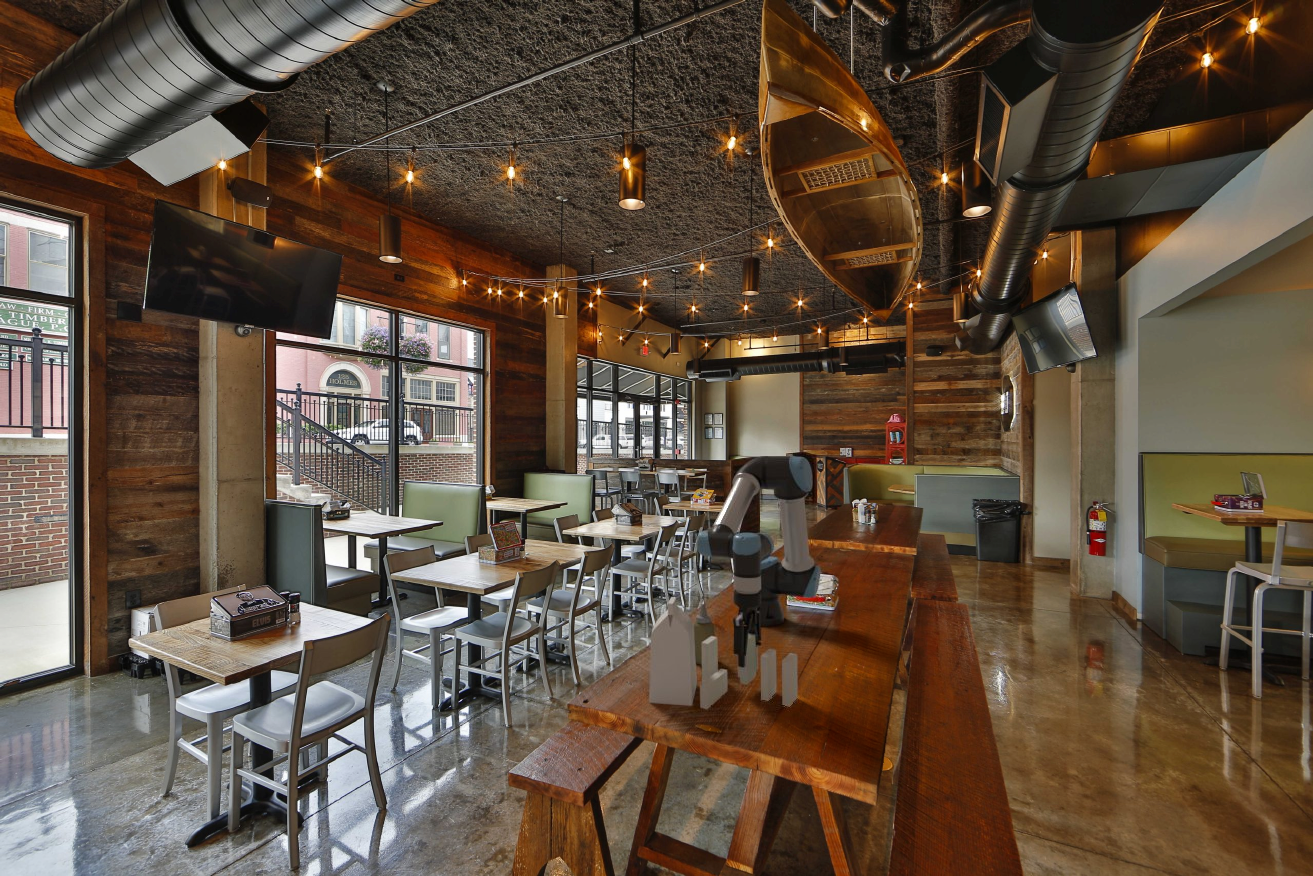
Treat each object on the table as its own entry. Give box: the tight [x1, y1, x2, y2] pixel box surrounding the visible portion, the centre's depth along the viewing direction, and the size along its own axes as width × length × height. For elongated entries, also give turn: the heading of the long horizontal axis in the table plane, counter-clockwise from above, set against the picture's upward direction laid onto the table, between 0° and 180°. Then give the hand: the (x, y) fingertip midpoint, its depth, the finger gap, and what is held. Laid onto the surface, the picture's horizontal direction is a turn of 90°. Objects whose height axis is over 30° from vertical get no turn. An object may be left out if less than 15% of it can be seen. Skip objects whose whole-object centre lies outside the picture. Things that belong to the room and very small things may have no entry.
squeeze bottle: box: [693, 603, 716, 666], centre depth 179 cm, size 8×8×18 cm
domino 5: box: [781, 652, 799, 708], centre depth 152 cm, size 2×6×12 cm, turn 147°
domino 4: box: [760, 647, 777, 702], centre depth 155 cm, size 2×6×12 cm, turn 147°
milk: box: [648, 596, 698, 707], centre depth 158 cm, size 12×12×26 cm
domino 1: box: [701, 636, 719, 684], centre depth 165 cm, size 2×6×12 cm, turn 147°
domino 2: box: [699, 668, 728, 710], centre depth 155 cm, size 2×6×12 cm
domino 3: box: [739, 633, 757, 685], centre depth 158 cm, size 2×6×12 cm, turn 147°
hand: (748, 673), depth 159 cm, fingers closed on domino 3, 6 cm apart
